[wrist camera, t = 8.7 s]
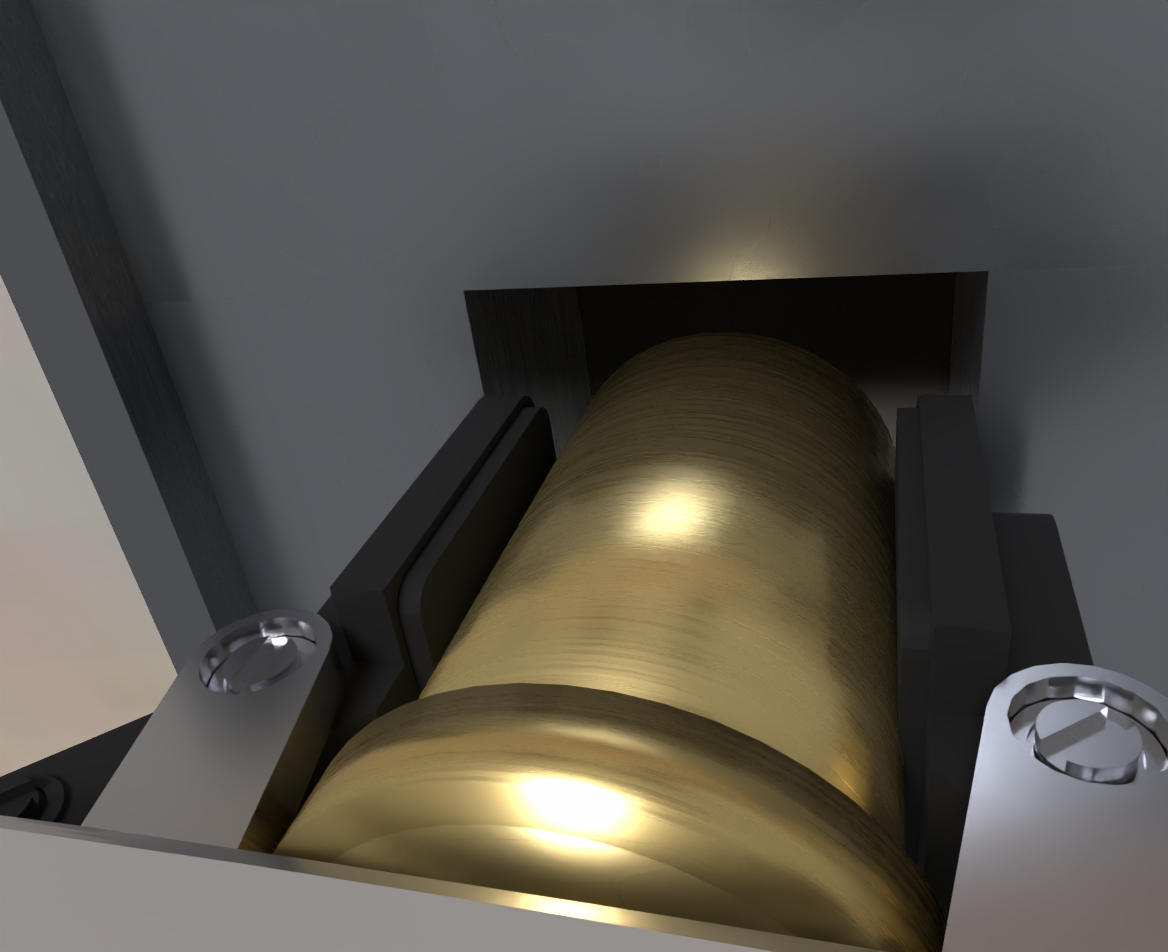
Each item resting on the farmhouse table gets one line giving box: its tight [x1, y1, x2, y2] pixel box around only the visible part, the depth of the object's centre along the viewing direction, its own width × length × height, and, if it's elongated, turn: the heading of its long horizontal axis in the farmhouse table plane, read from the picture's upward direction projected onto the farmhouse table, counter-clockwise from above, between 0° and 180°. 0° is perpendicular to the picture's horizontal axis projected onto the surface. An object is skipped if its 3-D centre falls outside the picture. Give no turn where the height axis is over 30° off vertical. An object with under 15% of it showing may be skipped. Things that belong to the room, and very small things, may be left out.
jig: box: [0, 0, 1168, 699], centre depth 13 cm, size 14×16×5 cm
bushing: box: [273, 332, 947, 952], centre depth 9 cm, size 5×5×7 cm
